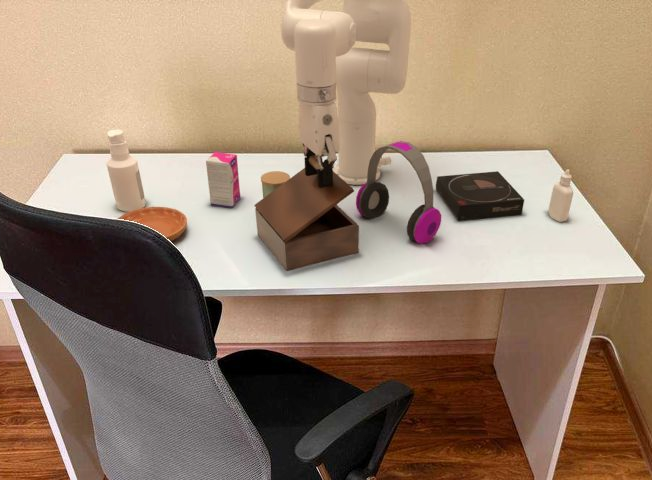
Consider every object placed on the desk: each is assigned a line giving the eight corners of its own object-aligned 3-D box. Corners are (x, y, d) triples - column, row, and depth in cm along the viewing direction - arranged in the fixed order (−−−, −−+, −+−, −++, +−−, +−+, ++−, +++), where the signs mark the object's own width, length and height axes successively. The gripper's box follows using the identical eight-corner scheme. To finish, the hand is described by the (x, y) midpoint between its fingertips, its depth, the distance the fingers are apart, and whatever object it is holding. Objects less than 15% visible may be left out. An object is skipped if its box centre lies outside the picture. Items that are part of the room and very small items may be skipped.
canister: (285, 206, 160) (283, 169, 154) (296, 218, 156) (294, 180, 150) (259, 212, 158) (256, 174, 152) (270, 224, 153) (267, 185, 147)
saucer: (144, 212, 157) (142, 200, 155) (202, 225, 152) (200, 213, 150) (99, 243, 145) (96, 231, 143) (161, 258, 141) (158, 246, 139)
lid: (319, 160, 145) (308, 140, 141) (354, 191, 133) (343, 170, 129) (255, 207, 144) (242, 188, 140) (285, 242, 132) (272, 223, 128)
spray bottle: (152, 202, 160) (137, 129, 149) (133, 214, 156) (116, 140, 144) (130, 196, 163) (113, 124, 151) (110, 208, 158) (92, 134, 146)
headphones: (443, 238, 150) (452, 154, 138) (417, 252, 145) (424, 165, 133) (377, 207, 161) (380, 126, 149) (352, 219, 156) (352, 136, 144)
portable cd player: (494, 184, 173) (497, 170, 170) (521, 214, 160) (524, 199, 158) (435, 190, 170) (436, 175, 167) (457, 221, 157) (459, 205, 154)
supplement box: (233, 208, 159) (228, 163, 152) (210, 205, 160) (203, 160, 153) (241, 198, 164) (237, 153, 156) (219, 195, 164) (213, 151, 157)
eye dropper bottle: (565, 212, 162) (576, 165, 154) (567, 223, 157) (578, 175, 150) (547, 210, 162) (557, 164, 154) (548, 221, 158) (558, 174, 150)
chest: (325, 222, 155) (324, 193, 150) (358, 256, 143) (359, 225, 139) (257, 238, 148) (255, 208, 144) (286, 274, 137) (284, 243, 132)
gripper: (354, 102, 122) (353, 193, 133) (315, 76, 134) (318, 162, 145) (317, 108, 119) (319, 200, 130) (281, 81, 131) (286, 168, 142)
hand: (318, 179), depth 138 cm, fingers closed on lid, 5 cm apart
